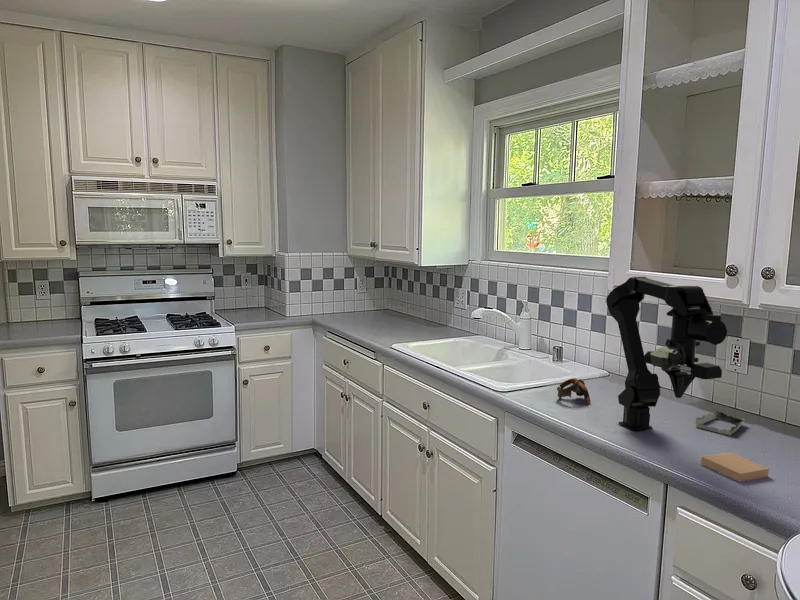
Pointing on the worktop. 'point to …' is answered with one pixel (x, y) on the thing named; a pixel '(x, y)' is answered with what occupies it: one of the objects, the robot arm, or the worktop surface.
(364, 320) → the worktop surface
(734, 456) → the flat brown rectangular block
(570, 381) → the brown arched part
